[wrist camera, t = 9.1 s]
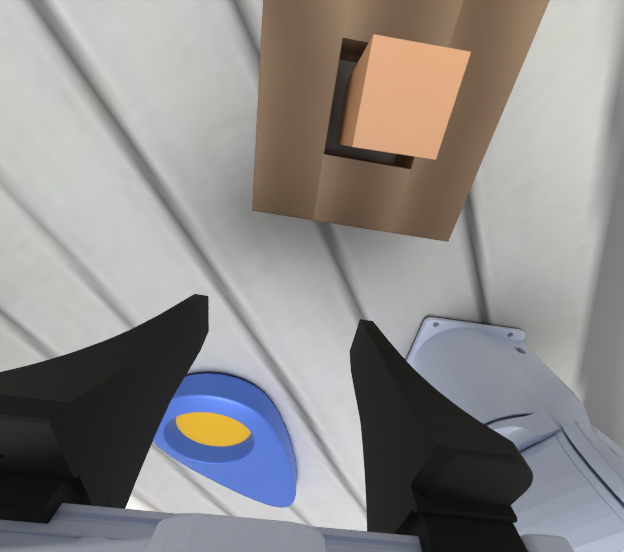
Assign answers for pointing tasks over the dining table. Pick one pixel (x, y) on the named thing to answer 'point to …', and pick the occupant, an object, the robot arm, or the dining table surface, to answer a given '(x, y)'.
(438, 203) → the socket block
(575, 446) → the robot arm
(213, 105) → the dining table surface
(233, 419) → the location marker
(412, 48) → the peg
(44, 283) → the dining table surface
